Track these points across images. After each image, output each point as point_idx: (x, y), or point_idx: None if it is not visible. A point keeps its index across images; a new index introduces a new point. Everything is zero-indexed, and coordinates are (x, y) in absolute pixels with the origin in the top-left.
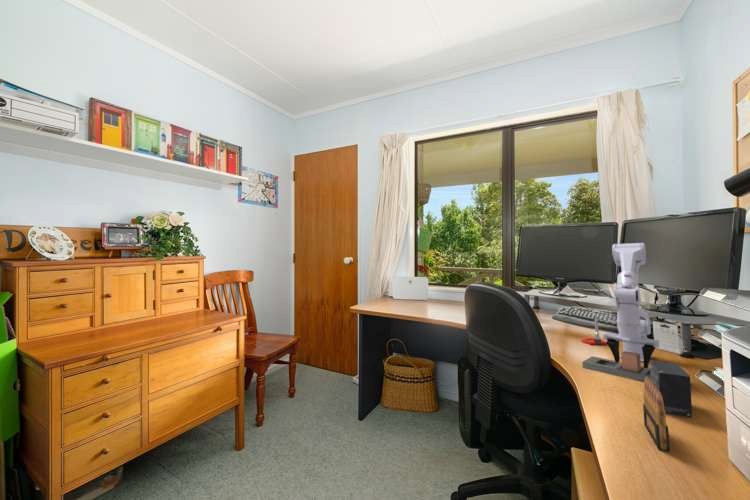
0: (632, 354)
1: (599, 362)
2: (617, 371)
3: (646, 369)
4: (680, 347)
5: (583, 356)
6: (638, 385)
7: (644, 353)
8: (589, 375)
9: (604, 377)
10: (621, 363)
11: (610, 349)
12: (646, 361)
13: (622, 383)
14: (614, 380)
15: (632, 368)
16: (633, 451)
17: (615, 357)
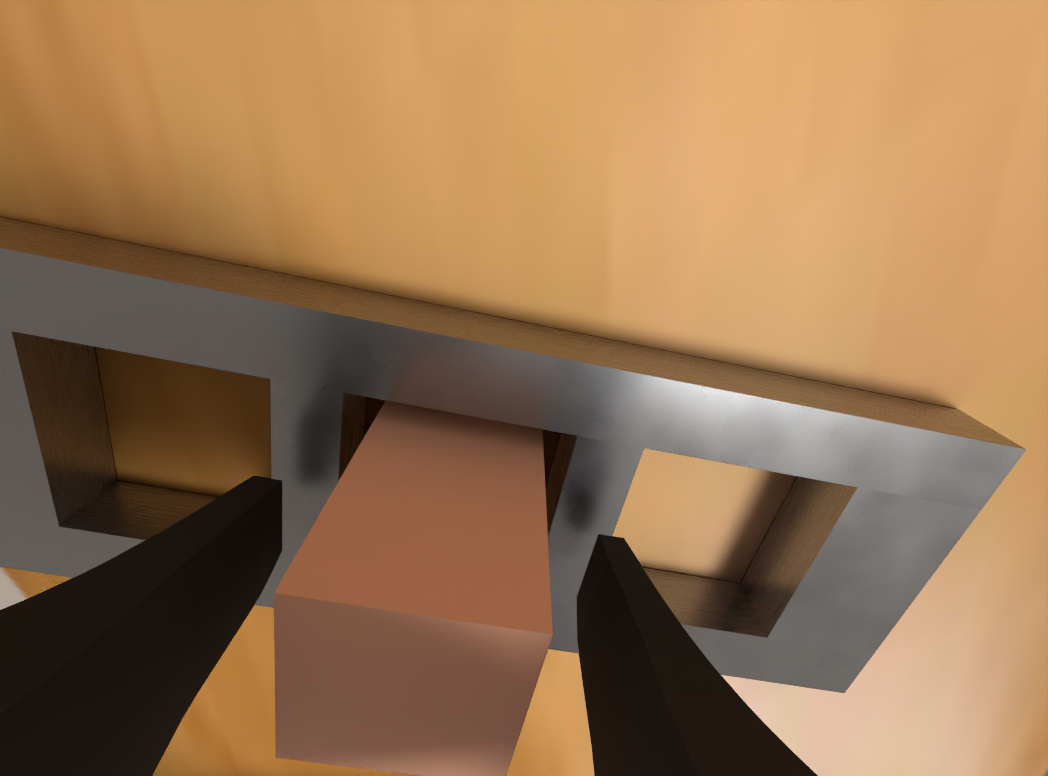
0: (361, 660)
1: (772, 584)
2: (593, 355)
3: None
4: None
5: (870, 726)
6: (337, 62)
7: (27, 657)
8: (942, 110)
9: (744, 149)
10: (558, 611)
11: (759, 719)
12: (164, 533)
13: (523, 8)
14: (624, 90)
15: (420, 443)
16: None
17: (636, 585)
